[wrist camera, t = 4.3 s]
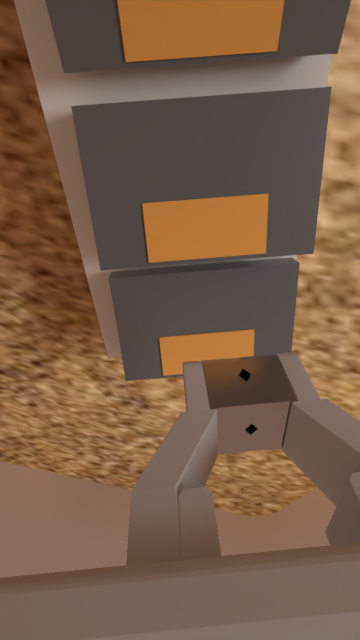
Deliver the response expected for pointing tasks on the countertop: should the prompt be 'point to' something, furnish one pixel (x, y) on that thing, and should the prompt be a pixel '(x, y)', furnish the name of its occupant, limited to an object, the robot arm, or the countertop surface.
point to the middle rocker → (203, 176)
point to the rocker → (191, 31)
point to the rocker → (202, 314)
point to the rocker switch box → (127, 87)
